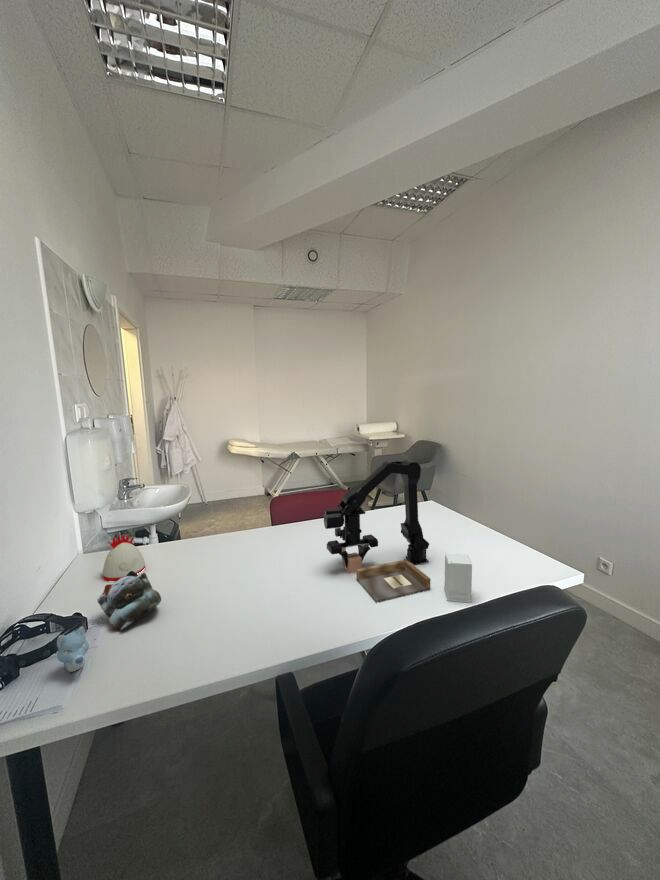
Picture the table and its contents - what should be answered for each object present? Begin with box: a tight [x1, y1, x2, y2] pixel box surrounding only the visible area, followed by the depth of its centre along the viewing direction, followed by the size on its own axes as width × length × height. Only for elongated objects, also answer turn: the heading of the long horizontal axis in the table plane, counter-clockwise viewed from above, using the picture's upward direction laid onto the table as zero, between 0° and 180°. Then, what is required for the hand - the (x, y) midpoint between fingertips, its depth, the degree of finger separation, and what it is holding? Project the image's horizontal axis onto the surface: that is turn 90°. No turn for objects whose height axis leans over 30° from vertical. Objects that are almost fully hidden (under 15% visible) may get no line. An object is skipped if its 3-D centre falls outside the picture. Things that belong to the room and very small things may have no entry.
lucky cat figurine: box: [96, 571, 162, 632], centre depth 107 cm, size 15×12×14 cm
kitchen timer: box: [102, 533, 146, 582], centre depth 135 cm, size 14×14×15 cm
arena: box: [356, 559, 431, 604], centre depth 122 cm, size 20×15×4 cm
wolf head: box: [56, 625, 90, 673], centre depth 86 cm, size 6×9×10 cm
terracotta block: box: [343, 552, 363, 574], centre depth 134 cm, size 5×5×5 cm
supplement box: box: [443, 552, 473, 604], centre depth 114 cm, size 7×7×13 cm
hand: (352, 565), depth 134 cm, fingers closed on terracotta block, 5 cm apart
